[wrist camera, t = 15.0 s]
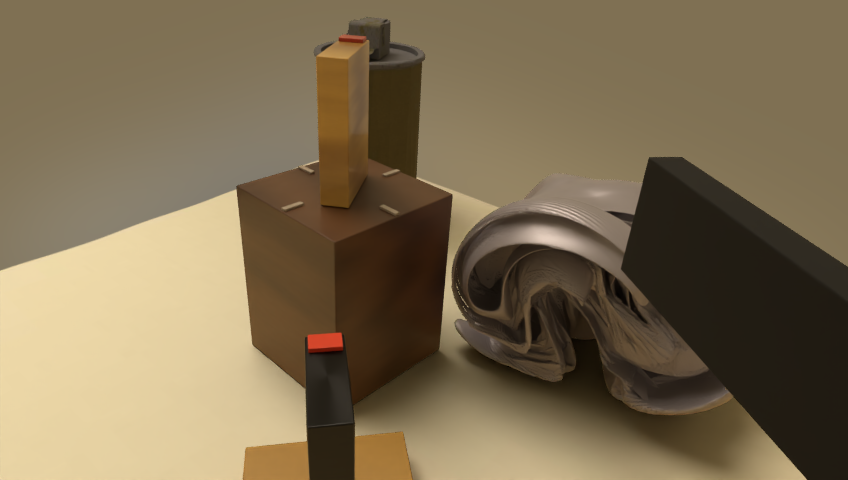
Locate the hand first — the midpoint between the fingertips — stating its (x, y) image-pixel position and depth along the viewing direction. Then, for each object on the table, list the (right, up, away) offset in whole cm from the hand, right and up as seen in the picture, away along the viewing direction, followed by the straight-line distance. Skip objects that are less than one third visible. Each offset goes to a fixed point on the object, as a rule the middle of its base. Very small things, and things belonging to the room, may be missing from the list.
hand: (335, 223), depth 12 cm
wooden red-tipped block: (-3, +3, +27) cm, 28 cm away
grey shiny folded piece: (+14, -9, +34) cm, 38 cm away
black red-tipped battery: (-3, -15, +18) cm, 23 cm away
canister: (-4, +2, +53) cm, 53 cm away
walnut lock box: (-4, -8, +34) cm, 35 cm away
